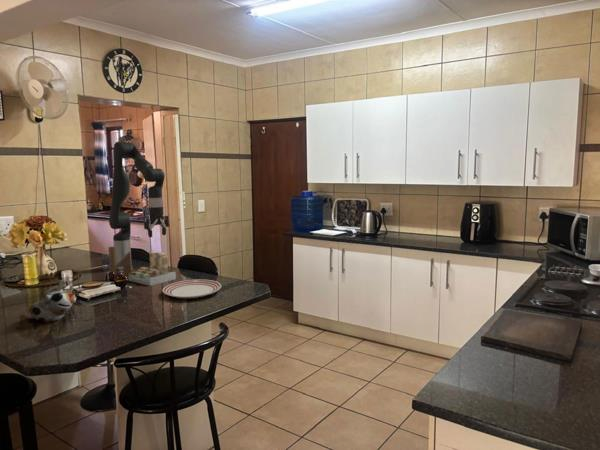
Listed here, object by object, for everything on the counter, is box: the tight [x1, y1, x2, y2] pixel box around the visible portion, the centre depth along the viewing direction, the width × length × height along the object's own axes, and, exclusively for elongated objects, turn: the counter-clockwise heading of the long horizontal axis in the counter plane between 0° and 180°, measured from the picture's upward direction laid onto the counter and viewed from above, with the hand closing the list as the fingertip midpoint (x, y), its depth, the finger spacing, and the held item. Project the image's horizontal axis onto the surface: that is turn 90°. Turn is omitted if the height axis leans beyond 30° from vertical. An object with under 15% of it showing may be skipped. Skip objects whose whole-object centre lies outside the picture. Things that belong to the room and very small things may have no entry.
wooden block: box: [108, 246, 132, 280], centre depth 239 cm, size 4×11×18 cm, turn 123°
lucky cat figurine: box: [27, 290, 78, 323], centre depth 178 cm, size 15×12×14 cm
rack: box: [128, 270, 177, 286], centre depth 238 cm, size 18×16×4 cm
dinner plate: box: [162, 279, 222, 300], centre depth 213 cm, size 28×27×3 cm
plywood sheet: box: [149, 250, 169, 275], centre depth 241 cm, size 12×2×14 cm, turn 55°
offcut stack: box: [135, 266, 160, 279], centre depth 235 cm, size 14×7×6 cm, turn 55°
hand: (157, 236), depth 239 cm, fingers open, 8 cm apart
